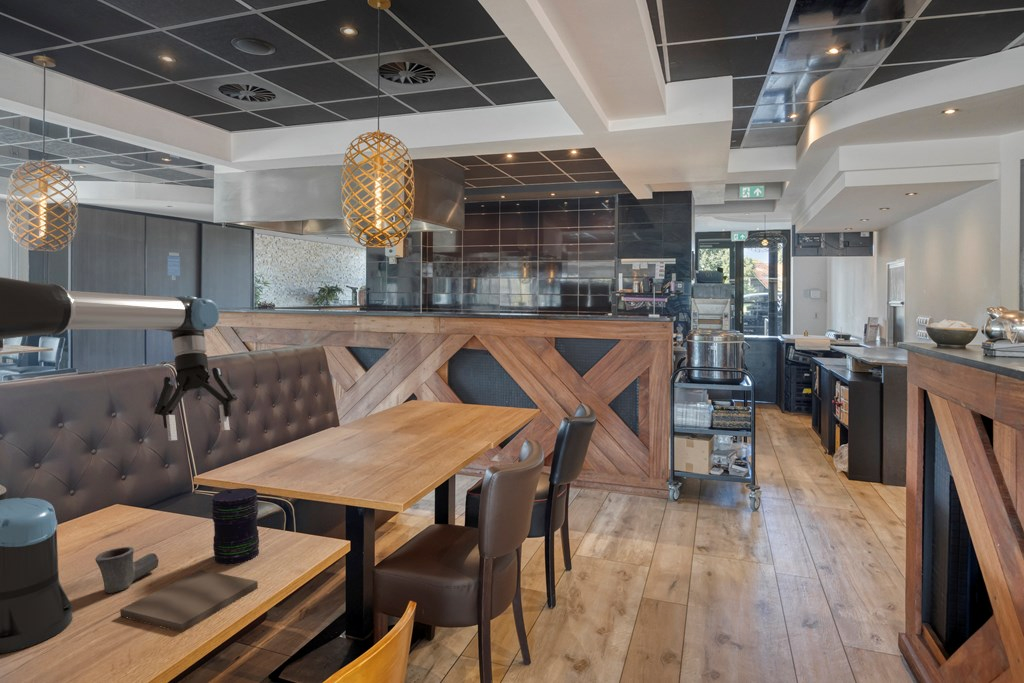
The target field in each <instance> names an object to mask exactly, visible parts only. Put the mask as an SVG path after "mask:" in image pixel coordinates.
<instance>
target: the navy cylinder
mask: <svg viewBox="0 0 1024 683" xmlns="http://www.w3.org/2000/svg"><path fill="white" fill-rule="evenodd" d="M211 501H212V503H211V504H212V505H211V506H212V507H211V513H212V517H211V518H212V522H213V526H214V531H213V532H214V536H213V543H212V544H213V545H212V546H213V552H214V553H213V554H214V558H213V560H215V561H214V563H216V564H217V563H218V564H217V565H221V564H225V565H224V566H230V565H229V564H234V565H238V564H237V563H240V564H242V562H244V563H246V562H245V561H247V562H249V561H248V560H250V561H252V560H254V559H256V558H257V557H258V556H259V555H260V549H259V547H260V546H259V545H260V536H259V529H258V515H259V509H258V508H259V501H258V490H257V489H255V488H247V487H239V488H231V489H226V490H222V491H219V492H217V493H215V494H213V495H212V496H211ZM256 556H257V557H256ZM253 558H254V559H253ZM251 559H252V560H251Z"/></svg>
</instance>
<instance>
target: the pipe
mask: <svg viewBox="0 0 1024 683" xmlns="http://www.w3.org/2000/svg"><path fill="white" fill-rule="evenodd" d="M134 550H135V548H134V547H133V546H123V547H115V548H112V549H109V550H106V551H104V552H100V553H99V554H97V555H96V557H95V559H94V560H95V562H96V564H97V566H98V568H99V570H100V574H101V577H102V581H103V587H104V588H103V590H104V592H106V593H108V594H113V593H114V594H115V593H118V592H120V591H123V590H125V589H128V588H129V587H131V585H132V584H133V582H135V581H136V580H139V579H140V578H143V577H144V576H145V575H147V574H149V573H151V572H152V571H154V570H156V569H157V568H158V566H159V556H158V555H157V554H156V553H154V552H153V553H148V554H146V555H144V556H142V557H141V558H139V559H137V560H136V561H134V552H135V551H134Z"/></svg>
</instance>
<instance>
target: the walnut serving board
mask: <svg viewBox="0 0 1024 683" xmlns="http://www.w3.org/2000/svg"><path fill="white" fill-rule="evenodd" d="M258 583H259V582H258V580H253V579H248V578H243V577H239V576H233V575H229V574H223V573H218V572H214V571H209V570H203V569H199V570H197V571H195V572H193V573H191V574H189V575H187V576H185V577H183V578H181V579H179V580H177V581H175V582H173V583H170V584H168V585H167V586H165V587H162V588H161V589H158V590H156V591H154V592H152V593H150V594H148V595H146V596H145V597H142V598H139V599H137V600H135V601H134V602H132V603H129V604H128V605H125V606H124V607H121V608H120V609H119V613H120V617H121V616H124V617H128V618H131V619H130V620H132V619H134V620H133V621H136V620H137V621H136V622H140V621H142V622H141V623H143V622H146V623H145V624H147V623H150V624H149V625H151V624H154V625H153V626H155V625H157V627H159V626H162V627H161V628H163V627H165V628H164V629H167V628H169V629H168V630H171V629H172V631H176V632H180V633H184V632H185V631H187V630H189V629H190V628H192V627H194V626H195V624H196V625H197V624H199V623H201V622H202V621H204V620H206V619H208V618H209V617H211V616H213V615H214V614H216V613H218V612H220V611H221V610H223V609H225V608H226V607H228V606H229V604H230V605H231V604H233V603H234V602H236V600H237V601H238V600H240V599H242V598H243V597H245V596H247V595H248V594H251V593H252V592H254V591H255V590H257V589H258V588H259V587H258V586H259V585H258ZM241 597H242V598H241ZM232 602H233V603H232ZM225 606H226V607H225ZM224 607H225V608H224ZM222 608H223V609H222ZM220 609H221V610H220ZM217 611H218V612H217ZM212 614H213V615H212ZM124 617H123V618H124ZM128 618H127V619H128ZM200 621H201V622H200ZM198 622H199V623H198ZM193 625H194V626H193Z"/></svg>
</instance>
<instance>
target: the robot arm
mask: <svg viewBox="0 0 1024 683" xmlns="http://www.w3.org/2000/svg"><path fill="white" fill-rule="evenodd" d="M219 310H220V309H219V307H218V304H217V303H215V301H213V300H211V299H210V298H203V297H196V296H193V295H178V296H174V297H172V296H171V297H170V296H158V295H157V296H155V295H140V294H124V293H112V292H111V293H110V292H108V293H107V292H96V291H95V292H92V291H79V290H67V289H66V288H64V286H61V284H53V283H52V284H50V283H41V282H34V281H28V280H27V281H26V280H19V279H14V278H8V277H1V276H0V352H1V351H3V350H4V340H6V339H15V338H23V337H31V336H38V335H39V336H40V335H41V336H42V335H52V336H53V335H54V336H55V335H60V334H62V333H64V332H65V331H66V330H153V331H164V332H165V331H166V332H171V338H172V344H173V345H172V347H173V355H174V356H175V357H174V367H175V371H176V375H175V376H172V377H169V376H165V377H164V378H163V387H162V390H161V393H160V395H159V398H158V401H157V403H156V405H155V409H154V411H153V412H154V413H153V414H154V415H160V416H162V421H163V427H164V429H166V430H167V431H166V432H167V438H168V439H167V440H168V441H170V442H171V441H172V442H173V441H174V442H175V441H178V433H177V425H176V424H177V423H176V415H175V414H172V413H174V411H175V409H176V408H177V406H178V405H179V404H180V402H181V400H183V399H182V398H183V397H184V395H186V394H187V393H188V391H189V392H192V391H195V390H202V389H203V388H204V389H205V390H206V391H207V392H208V393H210V394H211V395H212V396H214V398H216V399H217V401H219V402H221V404H219V405H218V408H219V416H220V417H219V418H220V426H221V431H230V430H231V427H230V421H229V418H230V417H231V416H232V410H231V409H232V408H231V404H232V403H233V402H235V401H236V402H237V400H238V397H237V395H236V393H235V392H234V391H233V389H232V387H231V386H230V385H229V383H228V382H227V380H226V379H225V378H224V376H223V373H222V369H220V368H218V367H213V368H212V369H210V370H209V361H208V355H207V354H206V353H207V344H206V337H205V336H206V335H205V330H211V329H213V328H214V327H215V326H216V325H217V324H218V322H219V319H220V311H219ZM210 377H212V378H214V380H215V382H216V383H217V384H218V387H220V389H221V390H222V392H223V393H222V392H221V391H220V390H219V389H217V388H216V387H215V385H213V384H212V383H211V382H210V381H209V379H210ZM176 383H177V384H178V385H177V387H176V388H175V385H176ZM174 388H175V390H174ZM173 391H174V392H173ZM172 393H173V394H172ZM7 493H8V492H7V488H6V487H5V486H4V485H1V484H0V655H1V654H6V653H11V652H15V651H18V650H22V649H25V648H28V647H31V646H34V645H37V644H39V643H42V642H44V641H47V640H48V639H50V638H52V637H54V636H56V635H58V634H59V633H61V632H63V631H64V630H65V629H66V628H68V627H69V625H70V624H71V623H72V621H73V616H74V615H73V606H72V603H71V602H70V599H69V598H68V595H67V594H66V592H65V590H64V588H63V586H62V584H61V582H60V577H59V555H58V554H59V552H58V530H57V529H58V520H57V516H56V511H55V508H54V506H53V505H52V503H51V502H49V501H47V500H44V499H42V498H41V499H40V498H38V497H36V498H34V497H24V498H20V497H13V498H7V497H8V495H7Z"/></svg>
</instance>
